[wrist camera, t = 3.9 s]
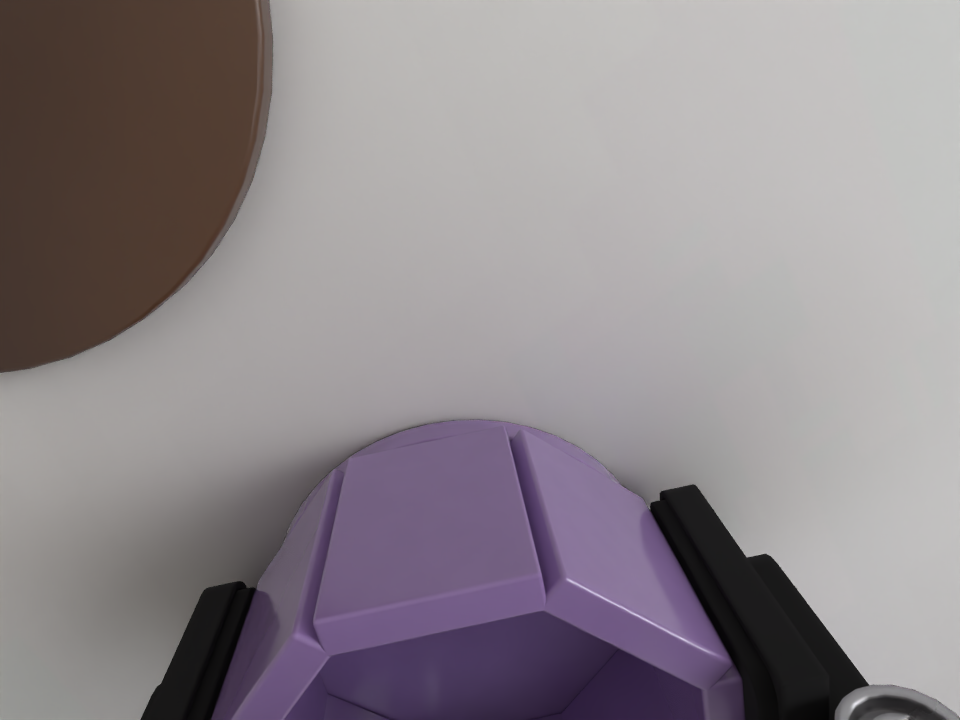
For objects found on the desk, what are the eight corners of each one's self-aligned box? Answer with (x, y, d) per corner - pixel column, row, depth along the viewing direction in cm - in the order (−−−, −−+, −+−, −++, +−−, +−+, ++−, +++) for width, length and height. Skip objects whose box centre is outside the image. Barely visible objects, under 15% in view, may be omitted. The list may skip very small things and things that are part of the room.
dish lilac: (336, 751, 13) (301, 1016, 9) (226, 464, 11) (117, 663, 7) (665, 681, 13) (762, 917, 9) (625, 380, 11) (735, 532, 7)
